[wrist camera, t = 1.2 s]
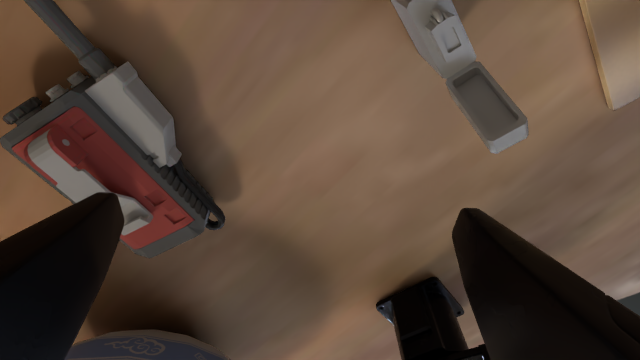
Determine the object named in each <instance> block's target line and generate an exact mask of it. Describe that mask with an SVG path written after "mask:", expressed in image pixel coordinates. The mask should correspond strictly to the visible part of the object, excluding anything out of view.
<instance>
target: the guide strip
mask: <svg viewBox="0 0 640 360" xmlns="http://www.w3.org/2000/svg"><path fill="white" fill-rule="evenodd" d="M579 3H580V7H581V10H582V14H583V18H584V21H585V25H586V28H587V32H588V36H589V39H590V43H591V47H592V50H593V54H594V58H595V61H596V65H597V69H598V72H599V76H600V79H601V83H602V87H603V90H604V94H605V98H606V101H607V105H608V108H610V109H612V110H614V111H615V110H617V109H619V108H621V107H623V106H625V105H626V104H628V103H630V102H632V101H634V100H636V99H638V98H640V0H579Z"/></svg>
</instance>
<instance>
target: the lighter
mask: <svg viewBox="0 0 640 360" xmlns="http://www.w3.org/2000/svg"><path fill="white" fill-rule="evenodd" d="M391 2H392V4H393V5H394V7H395V9H396V11H397V13H398V15H399V17H400V19H401V20H402V22H403V24H404V26H405V28H406V30H407V32H408V33H409V35H410V37H411V39H412V41H413V43H414V45H415V47H416V48H417V50H418V52H419V54H420V55H421V56H422V57H423V58H424V59H425V60H426V61H427V62H428V63H429V64H430V65H431V66H432V67H433V69H434V70H435V71H436V72H437V73H438V74H439V75H440V76H441V77H442V78H445V79H447V81H446V85H447V87H448V90H449V92H450V95H451V97H452V99H453V100H454V101H455V103H456V104H457V106H458V107H459V109H460V110H461V111H462V113H463V114H464V116H465V117H466V118H467V120H468V121H469V123H470V124H471V125H472V127H473V128H474V130H475V131H476V132H477V134H478V135H479V137H480V138H481V139H482V141H483V142H484V144H485V145H486V146H487V148H488V149H489V151H490V152H491V153H496V154H497V153H499V152H501V151H503V150H505V149H506V148H508V147H510V146H512V145H514V144H516V143H518V142H520V141H521V140H523V139H525V138H527V136H528V121H527V117H526V116H525V115H524V114H523V113H522V112H521V110H520V109H519V108H518V107H517V106H516V104H515V103H514V102H513V101H512V100H511V98H510V97H509V96H508V95H507V94H506V93H505V91H504V90H503V89H502V88H501V87H500V85H499V84H498V83H497V82H496V81H495V79H494V78H493V77H492V76H491V75H490V73H489V72H488V71H487V70H486V69H485V68H484V66H483V65H482V64H481V63H480V62H475V59H476V55H475V52H474V50H473V48H472V46H471V43H470V41H469V39H468V36H467V34H466V32H465V30H464V27H463V25H462V23H461V21H460V18H459V16H458V14H457V12H456V9H455V7H454V5H453V3H452V0H391Z"/></svg>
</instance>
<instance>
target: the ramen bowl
mask: <svg viewBox="0 0 640 360" xmlns="http://www.w3.org/2000/svg"><path fill="white" fill-rule="evenodd" d="M65 360H230V359H229V358H228V357H227V356H226V355H225V354H224V353H223V352H221V351H220V350H218V349H217V348H215V347H214V346H211V345H209V344H207V343H204V342H202V341H199V340H197V339H195V338H192V337H190V336H188V335H183V334H178V333H172V332H166V331H161V330H155V329H150V330H129V331H117V332H110V333H107V334H104V335H100V336H97V337H94V338H91V339H88V340H85V341H82V342H79V343H76V344H74V345H72V346H71V348H70V350H69V352H68V354H67V356H66V358H65Z"/></svg>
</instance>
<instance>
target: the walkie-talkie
mask: <svg viewBox="0 0 640 360" xmlns="http://www.w3.org/2000/svg"><path fill="white" fill-rule="evenodd" d="M24 1H25V2H26V3H27V4H28V5H29V6H30V8H31V9H32V10H33V11H34V12H35V13H36V14H37V15H38V16H39V17H40V18H41V19H42V20H43V21H44V22H45V24H46V25H47V26H48V27H49V28H50V29H51V30H52V31H53V32H54V33H55V34H56V35H57V36H58V37H59V39H60V40H61V41H62V42H63V43H64V44H65V45H66V46H67V47H68V48H69V49H70V50H71V51H72V52H73V54H74V55H75V56H76V57H77V58H78V59H79V62H78V63H79V64H80V65H81V66H82V67H83V68H84V69H85V70H86V71H87V72H88V73H89V74H90V75H91V76H92V77H90V78H88V77H89V76H88V75H87V76H84V75H83V74H82V73H81V72H80V71H78V72H76V73H74V74H73V75H71V76H70V77H68V78H67V80H68V81H69V82H70V83H71V84H72V86H70V87H71V88H73V89H72V90H70V91H69V89H68V88H67V89H66V90H65V89H64V88H63V87H62V86H61V85H60V84H57V85H56V86H54V87H53V88H51V89H50V90H48V91H47V92H46V94H47V95H48V96H49V97H50V98H51V100H49V101H50V102H52V101H53V103H51V104H50V105H48V106H47V107H45V108H43V109H42V108H41V107H40V105H41V104H42V101H41V100H40V99H38V98H37V97H32V98H30V99H29V100H27V101H25V102H24V103H22V104H21V105H19V106H18V107H16V108H15V109H13V110H11V111H10V112H8V113H7V114H6V115H4V116H3V120H4V121H5V122H6V123H7V124H14V123H16V124H17V127H16V128H14V129H13V130H11V131H10V132H8V133H7V134H5V135H4V136H3V137H1V138H0V142H1V145H2V147H3V148H4V149H6V150H7V151H8V152H9V153H11V154H12V155H13V156H14V157H16V158H17V159H18V160H19V161H21V162H22V163H23V164H24V165H26V166H27V167H28V168H29V169H31V170H32V171H33V172H34V173H36V174H37V175H38V176H39V177H40V178H42V179H43V180H44V181H45V182H47V183H48V184H49V185H50V186H52V187H53V188H54V189H55V190H57V191H58V192H59V193H60V194H62V195H63V196H64V197H65V198H67V199H69V200H70V201H71V202H72V203H73V204H75V203H77V202H79V201H81V200H83V199H85V198H87V197H89V196H91V195H93V194H95V193H97V192H110V193H115V194H116V195H117V196H118V199H119V202H120V205H121V208H122V212H123V215H124V220H125V222H124V227H123V230H122V233H121V236H120V239H119V241H121V242H122V243H123V244H124V245H126V246H127V247H128V248H129V249H130V250H132V251H133V252H134V253H135V254H138V255H140V256H143V257H146V258H152V257H154V256H157V255H159V254H161V253H163V252H165V251H167V250H169V249H171V248H174V247H176V246H178V245H180V244H182V243H184V242H186V241H188V240H190V239H193V238H195V237H197V236H198V235H200V234H201V233H202V232H203V231H204V230H205V227H206V228H208V229H210V230H217V229H221V228H222V227H223V226H224V222H225V216H224V214H223V211H222V210H221V209H220V208H219V207H218V206H217V205H216V204H215V203H214V202H213V198H212V197H211V196H210V195H209V193H208V192H206V191H205V190H204V188H203V187H202V186H201V185H200V184H199V182H197V181H196V180H195V179H194V177H193V176H191V175H190V174H189V172H188V171H187V170H186V169H185V168H184V166H183V163H182V161H181V160H180V157H181V155H182V153H181V152H180V151H179V150H178V149H177V148H176V140H175V130H174V120H173V117H172V116H171V114H170V113H169V112H168V111H167V110H166V109H165V107H164V106H163V105H162V104H161V103H160V102H159V100H158V99H157V98H156V97H155V96H154V95H153V93H152V92H151V91H150V90H149V89H148V88H147V86H146V85H145V84H144V83H143V82H142V81H141V80H140V78H139V77H138V74H137V71H136V70H135V69H134V68H133V67H132V66H131V64H130V63H129V62H126V63H124V64H123V65H121V66H120V67H118V68H117V67H116V66H115V65H114V64H113V63H112V62H111V61H110V60H109V59H108V57H107V56H106V55H105V54H104V53H103V52H102V51H101V50H100V49H99V48H95V47H94V46H93V45H92V44H91V43H90V42H89V40H88V39H87V38H86V37H85V36H84V35H83V34H82V33H81V31H80V30H79V29H78V28H77V27H76V26H75V25H74V24H73V22H72V21H71V20H70V19H69V18H68V17H67V16H66V14H65V13H64V12H63V11H62V10H61V9H60V8H59V7H58V5H57V4H56V3H55V2H54V1H53V0H24ZM68 91H69V92H68ZM210 212H212V213H213V214H214V215H215V216H216V217H217V219H218V221H216V222H215V221H212V220H210V219H209V215H210Z"/></svg>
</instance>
